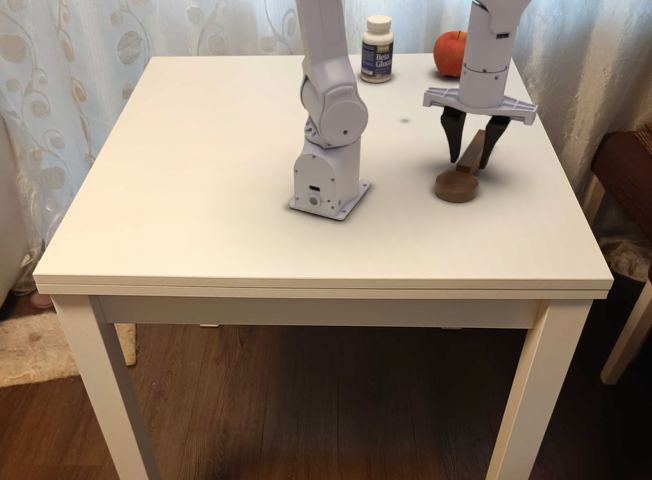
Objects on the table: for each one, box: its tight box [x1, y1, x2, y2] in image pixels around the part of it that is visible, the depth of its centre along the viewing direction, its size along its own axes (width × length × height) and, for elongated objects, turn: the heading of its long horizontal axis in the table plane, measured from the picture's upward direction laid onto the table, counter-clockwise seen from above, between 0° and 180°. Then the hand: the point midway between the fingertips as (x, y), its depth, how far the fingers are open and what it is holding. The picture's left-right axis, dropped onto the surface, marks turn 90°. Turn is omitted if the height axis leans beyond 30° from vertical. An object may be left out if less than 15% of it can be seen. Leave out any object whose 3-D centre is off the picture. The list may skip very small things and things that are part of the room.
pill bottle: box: [360, 14, 395, 84], centre depth 110 cm, size 5×5×10 cm
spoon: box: [434, 128, 485, 203], centre depth 89 cm, size 16×6×3 cm, turn 153°
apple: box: [432, 30, 467, 78], centre depth 110 cm, size 7×7×8 cm
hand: (468, 163), depth 89 cm, fingers open, 3 cm apart
